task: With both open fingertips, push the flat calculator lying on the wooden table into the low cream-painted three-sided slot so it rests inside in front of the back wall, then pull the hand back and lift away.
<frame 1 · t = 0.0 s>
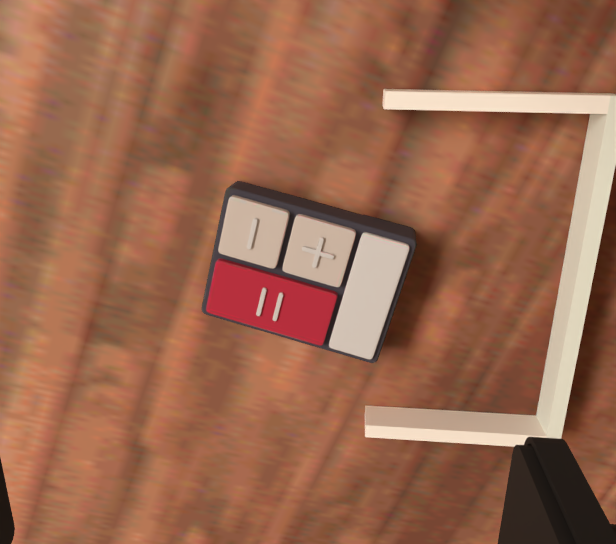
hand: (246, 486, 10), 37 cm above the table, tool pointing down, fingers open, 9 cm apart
slot: (465, 273, 47), on the table
calculator: (308, 264, 49), on the table
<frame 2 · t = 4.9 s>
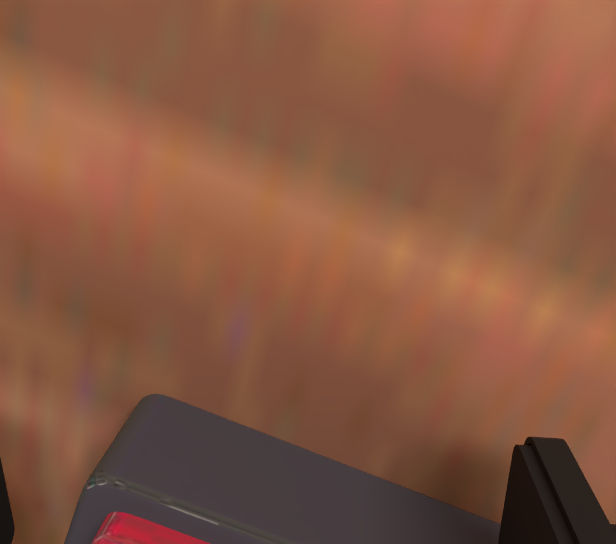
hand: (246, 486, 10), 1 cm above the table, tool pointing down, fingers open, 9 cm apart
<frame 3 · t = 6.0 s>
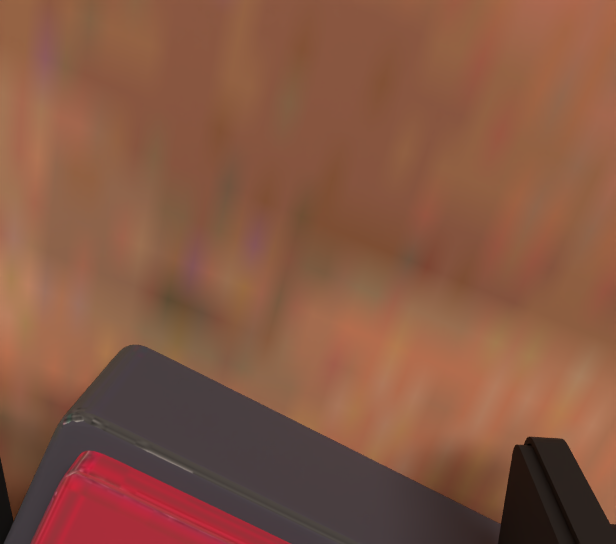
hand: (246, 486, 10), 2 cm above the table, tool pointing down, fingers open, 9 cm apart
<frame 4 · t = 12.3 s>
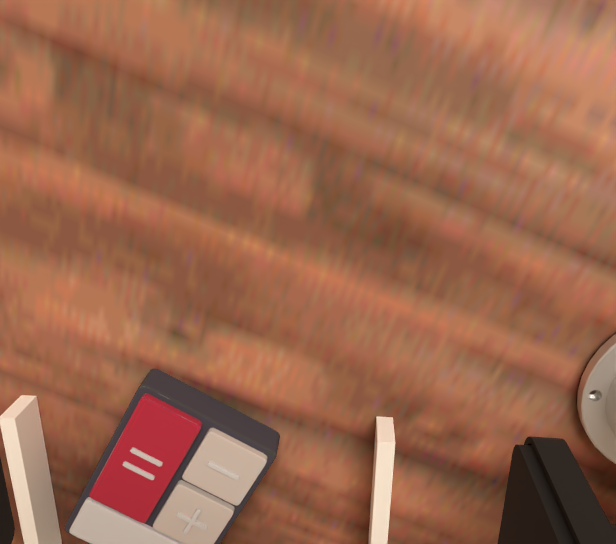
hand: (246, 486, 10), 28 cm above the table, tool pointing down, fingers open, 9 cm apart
slot: (207, 486, 46), on the table
calculator: (179, 463, 46), on the table
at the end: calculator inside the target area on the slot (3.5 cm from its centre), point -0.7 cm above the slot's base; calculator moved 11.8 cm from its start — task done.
